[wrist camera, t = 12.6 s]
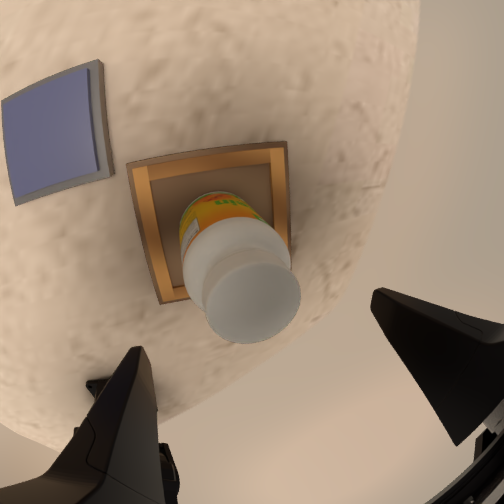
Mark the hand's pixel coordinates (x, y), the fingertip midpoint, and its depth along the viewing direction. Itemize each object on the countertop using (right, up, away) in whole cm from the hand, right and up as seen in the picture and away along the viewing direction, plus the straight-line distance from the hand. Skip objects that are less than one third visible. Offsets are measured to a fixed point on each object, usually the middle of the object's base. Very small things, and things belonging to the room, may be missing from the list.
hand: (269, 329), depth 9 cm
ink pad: (-14, +11, +4) cm, 18 cm away
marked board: (-3, +5, +10) cm, 12 cm away
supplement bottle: (-3, +4, +10) cm, 11 cm away
